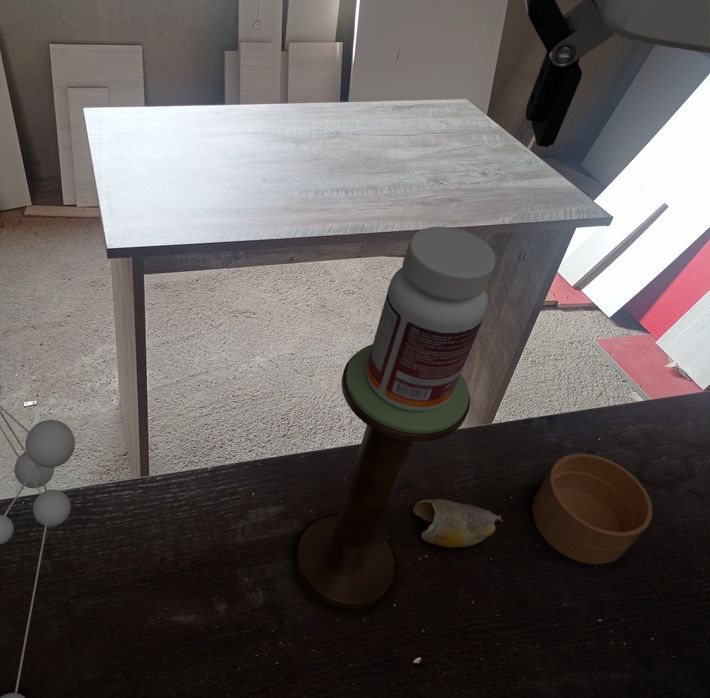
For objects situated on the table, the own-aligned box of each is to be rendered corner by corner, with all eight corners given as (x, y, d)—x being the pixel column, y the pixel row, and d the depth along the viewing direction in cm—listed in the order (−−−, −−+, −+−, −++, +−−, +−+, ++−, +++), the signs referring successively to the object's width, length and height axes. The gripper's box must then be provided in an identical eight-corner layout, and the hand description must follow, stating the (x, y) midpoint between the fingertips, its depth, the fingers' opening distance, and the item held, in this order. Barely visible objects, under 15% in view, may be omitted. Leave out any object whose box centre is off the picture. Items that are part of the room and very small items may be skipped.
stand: (410, 561, 68) (492, 386, 51) (357, 629, 62) (430, 458, 46) (332, 505, 72) (386, 326, 55) (276, 564, 66) (317, 386, 50)
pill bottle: (469, 392, 50) (527, 262, 42) (408, 428, 47) (458, 295, 39) (407, 340, 54) (450, 210, 46) (346, 371, 51) (380, 238, 43)
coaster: (488, 386, 51) (490, 382, 51) (429, 455, 46) (430, 451, 46) (387, 328, 55) (388, 324, 55) (321, 386, 50) (322, 382, 50)
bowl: (638, 523, 73) (665, 491, 69) (606, 585, 68) (633, 554, 64) (552, 470, 77) (572, 438, 73) (515, 525, 72) (535, 493, 68)
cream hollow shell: (467, 503, 73) (498, 495, 70) (474, 549, 72) (507, 543, 68) (402, 502, 70) (431, 493, 66) (409, 550, 69) (439, 544, 65)
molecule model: (107, 485, 73) (150, 379, 61) (16, 754, 56) (50, 683, 43) (-30, 440, 71) (-15, 322, 59) (-169, 704, 54) (-189, 615, 41)
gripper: (629, -321, 23) (470, 157, 35) (1204, -255, 22) (839, 218, 34) (590, -320, 29) (464, 94, 40) (1049, -266, 27) (781, 144, 39)
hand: (634, 150), depth 37 cm, fingers open, 9 cm apart
